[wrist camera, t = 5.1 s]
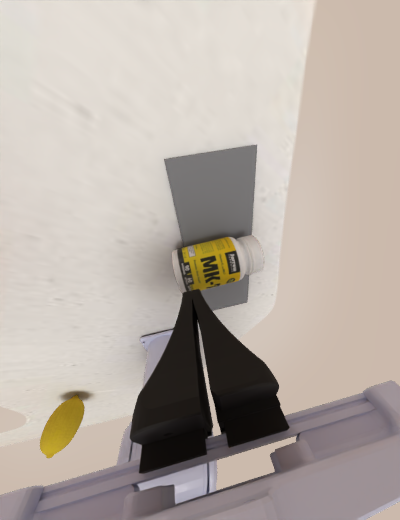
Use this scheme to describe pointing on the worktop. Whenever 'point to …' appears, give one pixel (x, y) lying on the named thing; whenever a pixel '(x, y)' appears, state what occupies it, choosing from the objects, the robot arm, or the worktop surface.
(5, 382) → the worktop surface
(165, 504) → the robot arm
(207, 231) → the mat
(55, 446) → the lemon
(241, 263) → the supplement bottle
